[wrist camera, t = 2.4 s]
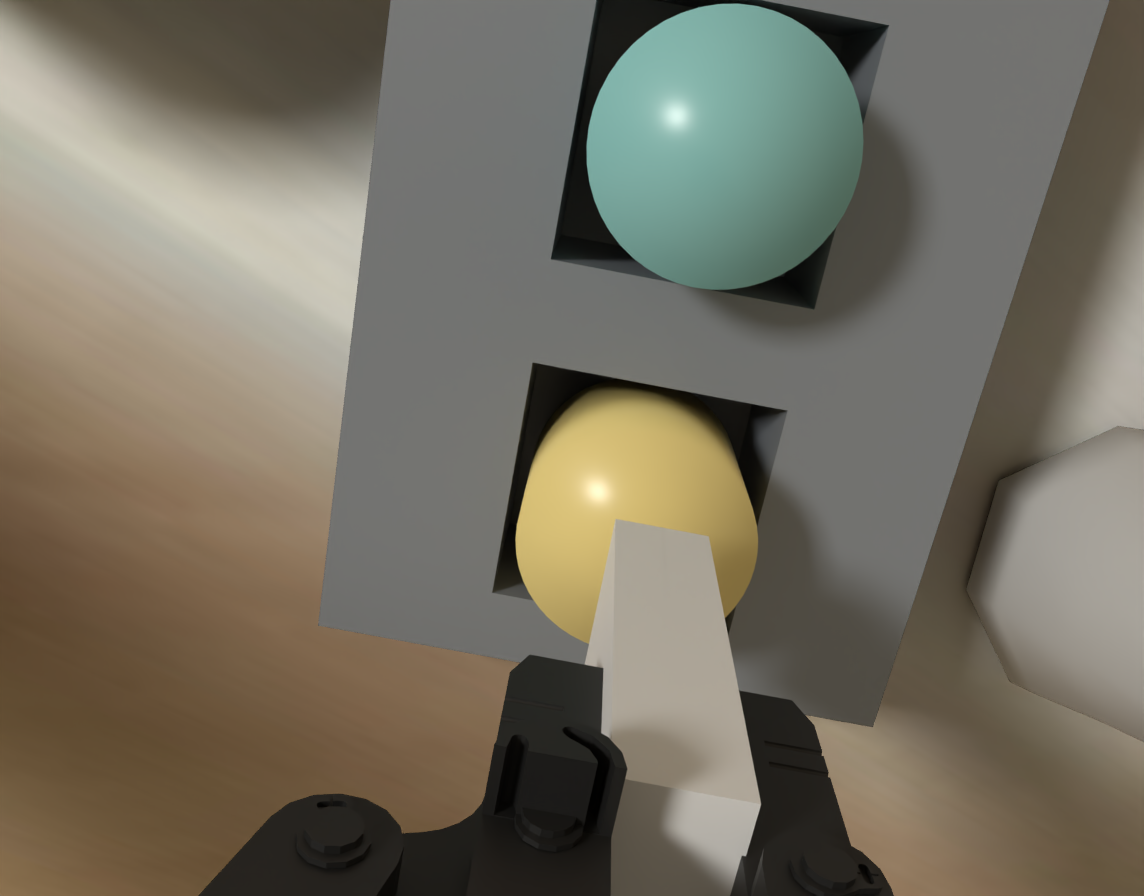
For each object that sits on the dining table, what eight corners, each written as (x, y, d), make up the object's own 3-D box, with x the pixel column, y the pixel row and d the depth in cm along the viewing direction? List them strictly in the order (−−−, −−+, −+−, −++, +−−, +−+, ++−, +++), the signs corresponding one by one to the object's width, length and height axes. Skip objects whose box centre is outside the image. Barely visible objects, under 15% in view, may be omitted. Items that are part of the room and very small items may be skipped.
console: (362, 547, 26) (318, 625, 22) (504, -554, 19) (473, -721, 15) (835, 634, 26) (873, 727, 22) (1153, -420, 19) (1288, -551, 15)
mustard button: (516, 548, 23) (497, 629, 19) (550, 359, 22) (537, 409, 18) (710, 584, 23) (726, 671, 20) (757, 398, 22) (784, 456, 18)
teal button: (572, 234, 21) (564, 262, 17) (615, -1, 19) (615, -22, 16) (788, 275, 21) (823, 312, 17) (846, 45, 19) (896, 33, 16)
